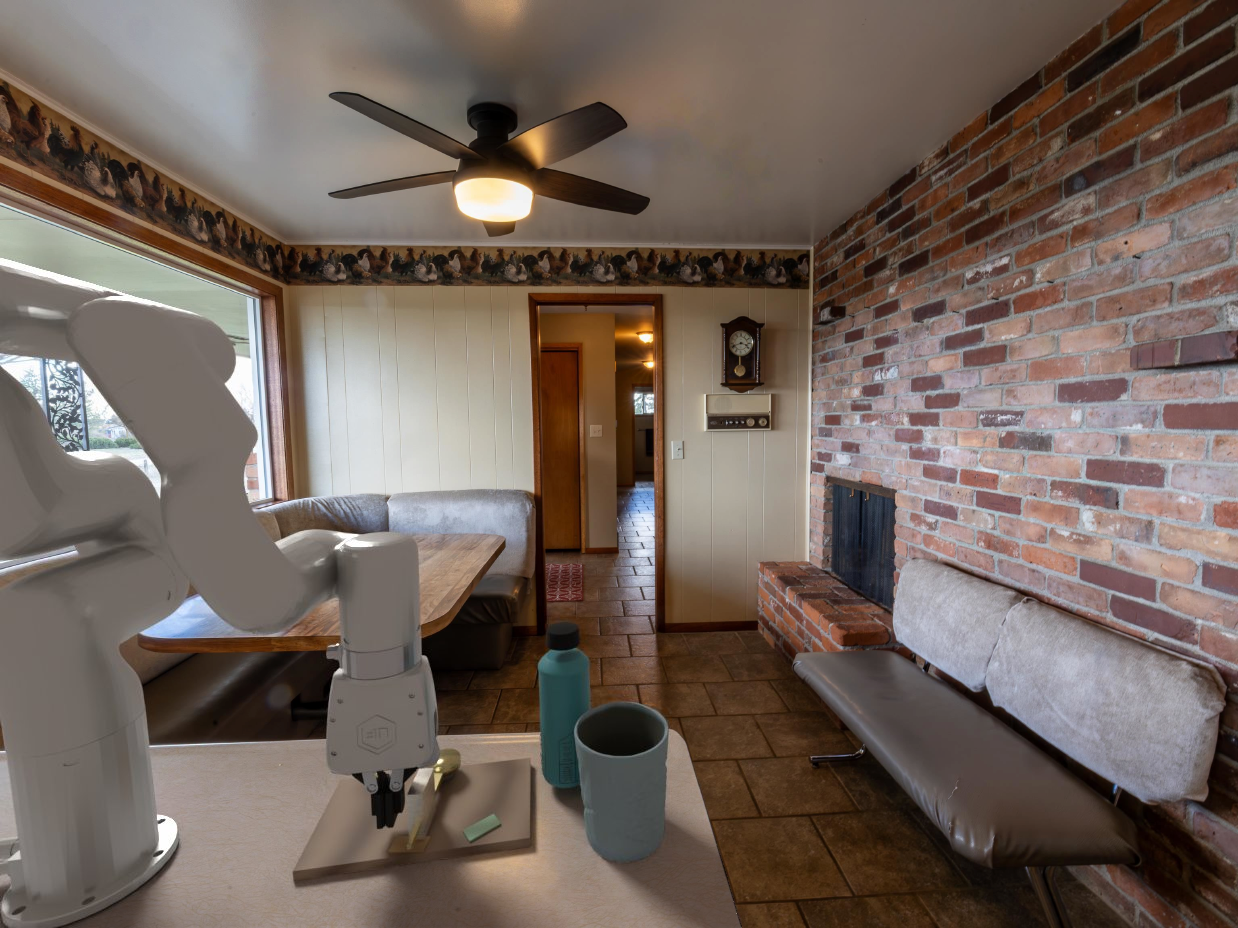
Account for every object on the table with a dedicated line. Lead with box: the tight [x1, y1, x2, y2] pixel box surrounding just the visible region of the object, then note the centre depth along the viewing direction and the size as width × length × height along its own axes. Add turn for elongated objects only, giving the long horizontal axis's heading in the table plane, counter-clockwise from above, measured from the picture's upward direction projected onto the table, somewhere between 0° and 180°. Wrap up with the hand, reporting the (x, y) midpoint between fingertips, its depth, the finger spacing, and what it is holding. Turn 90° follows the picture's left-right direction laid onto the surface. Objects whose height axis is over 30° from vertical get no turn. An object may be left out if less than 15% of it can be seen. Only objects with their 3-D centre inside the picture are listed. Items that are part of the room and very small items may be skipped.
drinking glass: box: [574, 701, 670, 864], centre depth 57 cm, size 10×10×12 cm
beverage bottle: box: [537, 621, 593, 789], centre depth 64 cm, size 6×7×20 cm
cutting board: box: [292, 757, 532, 881], centre depth 60 cm, size 23×13×2 cm, turn 99°
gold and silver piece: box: [407, 748, 462, 849], centre depth 59 cm, size 14×4×5 cm, turn 3°
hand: (389, 817), depth 56 cm, fingers closed
